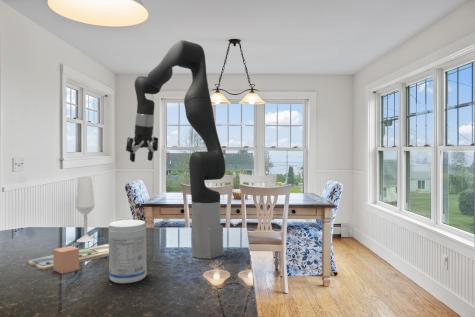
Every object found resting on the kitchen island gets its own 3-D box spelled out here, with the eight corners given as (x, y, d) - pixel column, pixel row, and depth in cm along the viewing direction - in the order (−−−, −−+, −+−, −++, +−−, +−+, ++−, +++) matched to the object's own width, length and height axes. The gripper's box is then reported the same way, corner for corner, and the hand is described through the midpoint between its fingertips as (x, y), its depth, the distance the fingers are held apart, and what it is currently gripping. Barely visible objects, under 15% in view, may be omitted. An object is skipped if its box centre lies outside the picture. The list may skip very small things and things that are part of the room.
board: (127, 251, 127) (127, 247, 127) (44, 270, 107) (43, 266, 107) (108, 245, 135) (108, 242, 135) (26, 263, 115) (26, 258, 115)
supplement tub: (113, 273, 104) (113, 219, 104) (148, 271, 105) (148, 219, 105) (105, 285, 95) (104, 226, 95) (143, 283, 96) (143, 225, 96)
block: (79, 269, 108) (78, 248, 108) (61, 274, 104) (61, 252, 104) (70, 266, 111) (70, 245, 111) (53, 270, 108) (53, 249, 107)
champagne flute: (97, 238, 148) (97, 176, 148) (90, 242, 141) (90, 177, 141) (80, 238, 148) (79, 176, 148) (73, 242, 141) (72, 177, 141)
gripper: (134, 125, 155) (131, 164, 158) (163, 125, 165) (159, 161, 168) (124, 122, 159) (122, 159, 163) (153, 122, 170) (150, 157, 173)
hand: (141, 160), depth 166 cm, fingers open, 8 cm apart
